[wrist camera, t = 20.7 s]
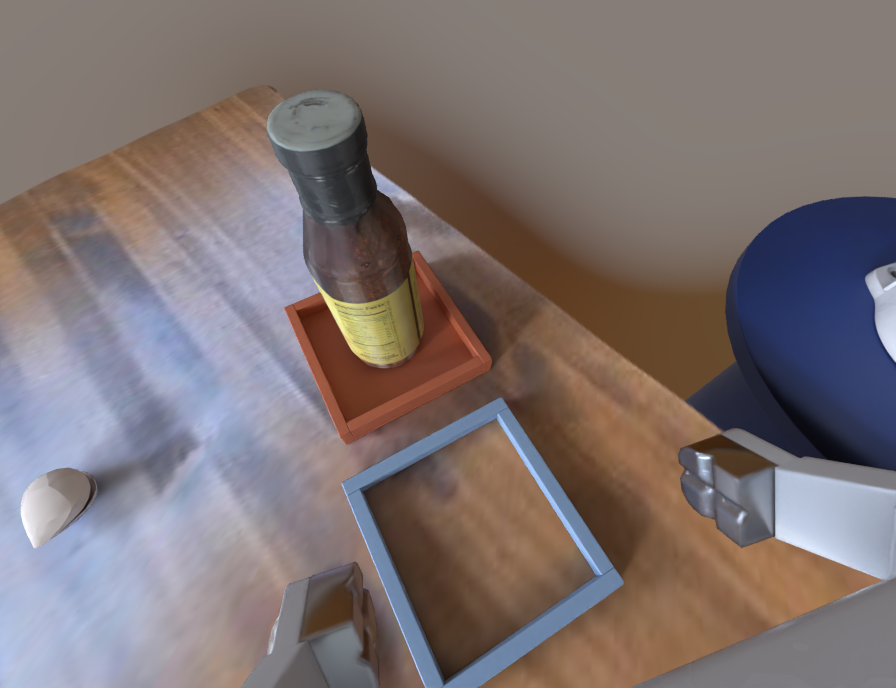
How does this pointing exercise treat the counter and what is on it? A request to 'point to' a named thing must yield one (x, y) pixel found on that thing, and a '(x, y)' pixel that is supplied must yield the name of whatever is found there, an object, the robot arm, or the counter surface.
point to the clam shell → (56, 503)
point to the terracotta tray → (388, 389)
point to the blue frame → (467, 679)
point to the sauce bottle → (349, 227)
